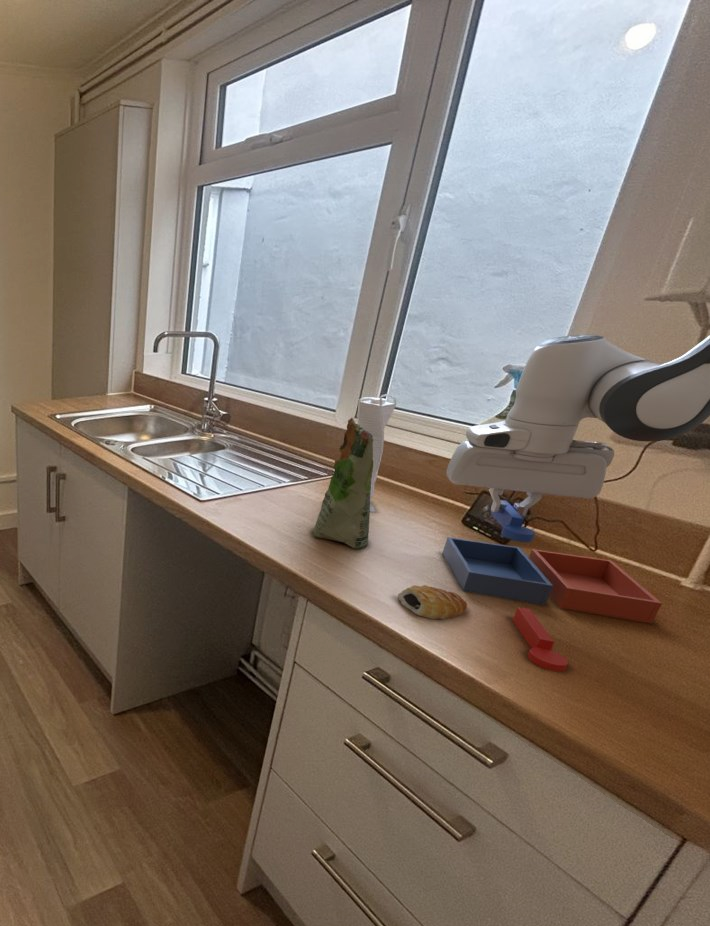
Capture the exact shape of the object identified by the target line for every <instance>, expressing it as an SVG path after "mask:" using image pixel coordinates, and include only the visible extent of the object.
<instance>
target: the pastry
mask: <svg viewBox="0 0 710 926" xmlns="http://www.w3.org/2000/svg"><path fill="white" fill-rule="evenodd" d="M397 598H398V601H399V602H400V604H402V605H403V606H404V607H405V608H407V609H408V610H410V611H411V612H412V613H414V614H415V615H417V616H418V617H424V618H426V619H431V620H437V619H441V620H444V619H449V618H453V617H458V616H461V615H463V614H464V613H465V612H466V610H467V608H468V602H467V601H466V600H465V599H464V598H462V596H461V595H459V594H458V593H455V592H453V591H447V590H445V589H441V588H439V587H438V588H437V587H433V586H429V585H426V584H424V585H421V586H419V585H411V586H409V587H406V589H404V590H402V591H401V592H399V593H398V595H397Z"/></svg>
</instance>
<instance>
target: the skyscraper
mask: <svg viewBox="0 0 710 926" xmlns="http://www.w3.org/2000/svg"><path fill="white" fill-rule="evenodd" d="M384 397H390V398H392V399H393V402H387V399H386V398H384ZM396 406H397V400H396V398H395V396H394V395H393V394H390V393H384V394H381V395H380V396H379V397H374V396H364V397H360V398H359V399H358V401H357V424H358V425H359V424H360V428H363V430H366V431H368V432H369V433H370V434H371V435H372V436H373V437H372V438H373V440H374V441H373V472H372V478H371V492H370V493H371V494H370V513H376V509H375V508H374V506H373V504H372V501H373V500H372V499H373V496H374V494H375V485H376V482H377V478H378V475H379V473H378V472H379V469H380V466H381V462H382V457H383V454H384V453H383V452H384V447H385V446H384V444H385V428H386V426H387V425H388V422H389V420H390V418H391V416H392V414H393V412H394V410H395V408H396Z"/></svg>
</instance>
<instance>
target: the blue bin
mask: <svg viewBox="0 0 710 926" xmlns="http://www.w3.org/2000/svg"><path fill="white" fill-rule="evenodd" d="M441 555H442V557H443V558H444V560H445V562H446V563H447V565H448V567H449V569H450V571H451V573H452V575H453V576H454V578H455V580H456V581H457V583H458V585H459V587H460V588H461V590H462V591H463V592H467V593H474V594H478V595H485V596H491V597H496V598H503V599H508V600H514V601H520V602H525V603H531V604H537V605H542V606H545V605H546V604H547V601H548V599H549V598H550V596H549V595H550V592H551V590H552V588H553V585H552V584H551V583H550V582H549V580H548V579H547V578H546V577H545V576H544V575H543V574H542V572H541V571H540V570H539V569H538V568H537V567H536V566H535V564H534V563H533V562H532V561H531V560H530V559H529V555H527V554H526V553H525V552H524V550H522V548H521V547H520V546H512V545H506V544H500V543H492V542H484V541H478V540H472V539H471V540H470V539H464V538H457V537H449V536H447V538H446V541H445V544H444V547H443V550H442V553H441Z"/></svg>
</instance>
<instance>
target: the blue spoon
mask: <svg viewBox="0 0 710 926" xmlns="http://www.w3.org/2000/svg"><path fill="white" fill-rule="evenodd" d="M500 501H503V502H505V504H507V507H506V509H504V510H505V511H504V513H495V512H492V511H491V510H490V514H491V515H492V516H493V518H494V519H495V520H496V522H498V523H499V525H500V526H501V527H502V530H501V532H500V535H501V536H502V537H504V538H506V539H508V540H511V541H514V542H519V543H532V541H533V540H534V537H535V534H536V532H535V531H534V530H533V529H530V528H528V527H525V526H523V522H524V520H525V518H524V516H521V515H520V514H519V513H518V512H517V511H516V510H515V509H514V507H513V505H511V504H510V502H509V501H508V500H505V499H500Z"/></svg>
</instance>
